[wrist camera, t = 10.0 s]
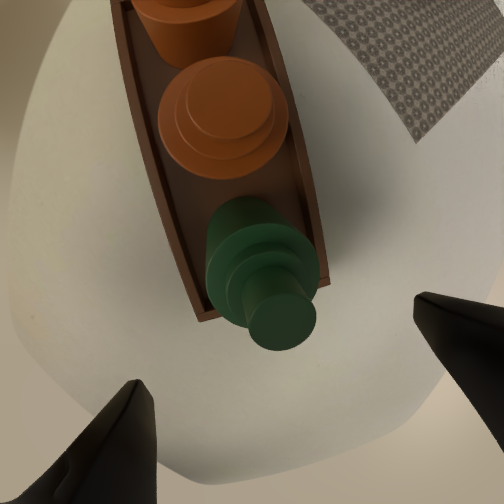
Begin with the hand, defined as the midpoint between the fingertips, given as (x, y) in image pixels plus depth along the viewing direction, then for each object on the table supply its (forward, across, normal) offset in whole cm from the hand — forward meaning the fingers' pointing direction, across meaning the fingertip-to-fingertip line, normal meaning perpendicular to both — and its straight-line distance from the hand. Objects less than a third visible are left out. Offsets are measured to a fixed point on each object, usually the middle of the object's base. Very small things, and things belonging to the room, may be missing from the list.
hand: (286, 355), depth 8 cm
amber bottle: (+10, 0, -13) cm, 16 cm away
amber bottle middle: (+10, 0, -7) cm, 12 cm away
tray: (+10, 0, -7) cm, 12 cm away
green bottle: (+10, 0, -1) cm, 10 cm away
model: (+10, -20, -18) cm, 29 cm away
